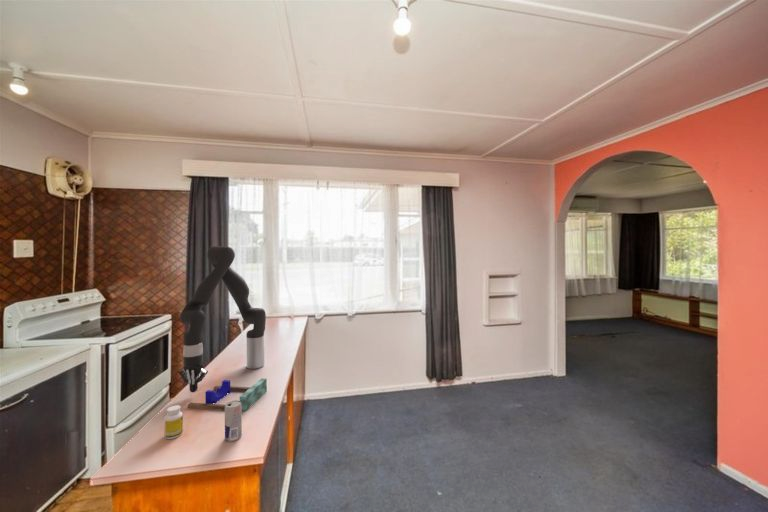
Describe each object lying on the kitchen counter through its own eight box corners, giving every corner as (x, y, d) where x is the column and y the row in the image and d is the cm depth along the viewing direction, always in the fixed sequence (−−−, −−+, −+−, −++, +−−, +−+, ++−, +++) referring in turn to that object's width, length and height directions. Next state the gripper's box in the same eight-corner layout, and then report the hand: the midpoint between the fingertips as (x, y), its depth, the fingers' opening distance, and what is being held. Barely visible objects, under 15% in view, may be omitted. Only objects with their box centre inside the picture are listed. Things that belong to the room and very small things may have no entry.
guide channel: (215, 388, 146) (215, 376, 146) (266, 391, 143) (266, 378, 143) (187, 407, 128) (187, 393, 128) (245, 411, 126) (245, 396, 125)
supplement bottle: (184, 434, 110) (184, 407, 109) (166, 441, 106) (166, 413, 105) (180, 428, 113) (180, 402, 113) (162, 435, 109) (162, 408, 109)
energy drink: (228, 433, 111) (228, 400, 110) (244, 432, 111) (243, 399, 111) (222, 442, 105) (221, 408, 105) (238, 441, 106) (238, 407, 105)
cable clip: (221, 392, 143) (221, 379, 143) (230, 393, 142) (230, 380, 142) (202, 405, 131) (202, 391, 131) (211, 406, 130) (211, 392, 130)
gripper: (212, 351, 140) (212, 388, 141) (185, 350, 142) (186, 387, 142) (200, 356, 133) (201, 396, 133) (173, 355, 134) (173, 394, 135)
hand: (193, 391), depth 138 cm, fingers closed
